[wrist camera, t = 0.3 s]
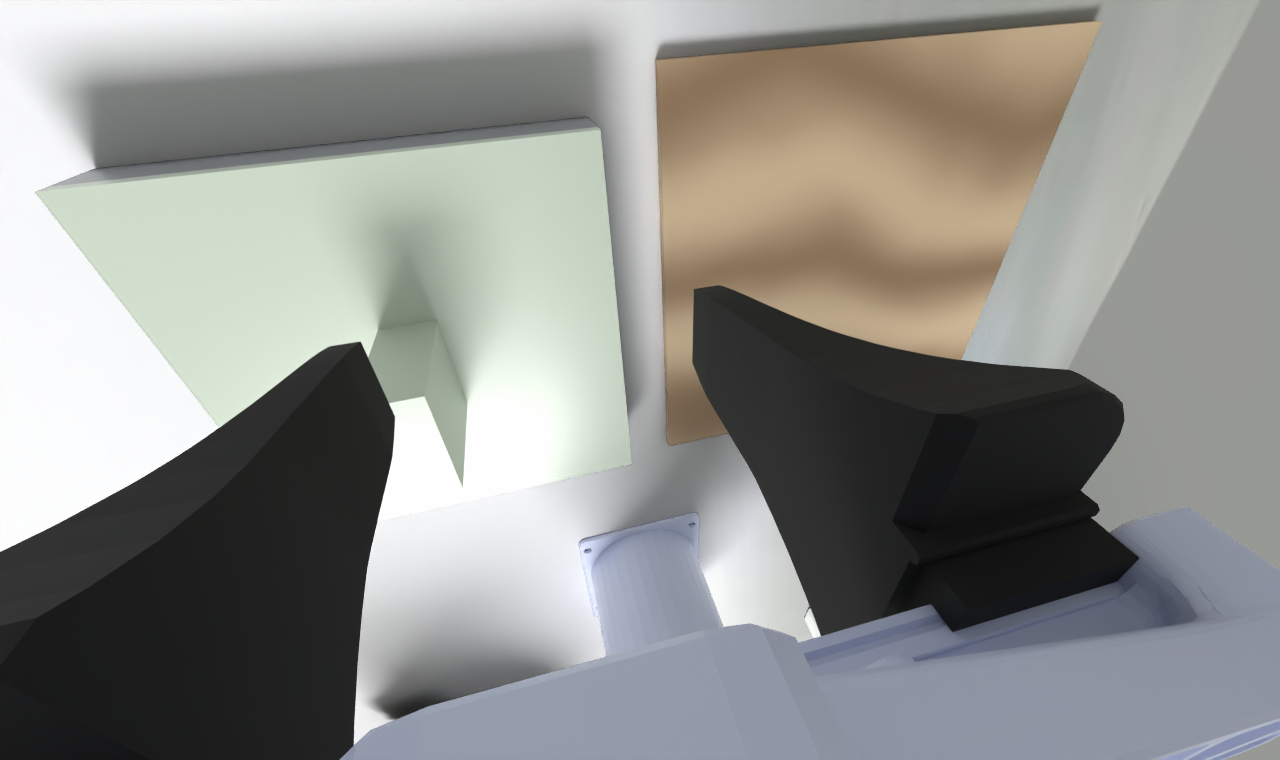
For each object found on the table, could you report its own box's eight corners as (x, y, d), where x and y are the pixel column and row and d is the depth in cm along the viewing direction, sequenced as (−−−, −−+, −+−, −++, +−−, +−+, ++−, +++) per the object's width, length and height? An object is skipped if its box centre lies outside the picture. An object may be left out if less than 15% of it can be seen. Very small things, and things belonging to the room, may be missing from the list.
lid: (629, 457, 25) (656, 540, 21) (307, 528, 22) (269, 637, 18) (598, 126, 16) (634, 164, 12) (48, 186, 13) (-138, 258, 9)
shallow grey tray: (621, 431, 26) (629, 457, 25) (319, 494, 24) (307, 528, 22) (587, 116, 17) (598, 126, 16) (94, 168, 15) (48, 186, 13)
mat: (946, 380, 30) (951, 384, 30) (666, 441, 28) (669, 446, 27) (1092, 21, 19) (1102, 20, 19) (655, 59, 17) (658, 60, 16)
